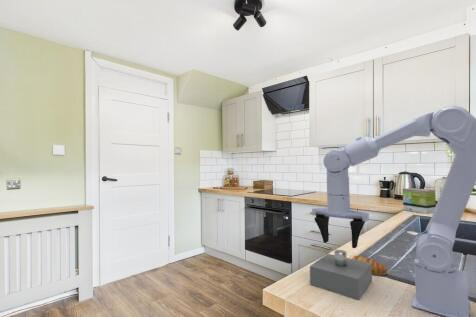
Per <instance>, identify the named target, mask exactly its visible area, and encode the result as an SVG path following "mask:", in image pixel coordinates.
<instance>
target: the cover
mask: <svg viewBox="0 0 476 317" xmlns="http://www.w3.org/2000/svg"><path fill="white" fill-rule="evenodd" d="M372 276H373V275H372V268H371V263H368V262H363V261H359V260H354V259H353V258H349V257H348V258H347V251H345V250H342V249H335V250H334V254H331V253H326V254H325V255H324V256H322V257H320V258H319V259H318V260H316V261H315V262H314V263H312V264H310V266H309V282H310V284H309V285H311V286H313V287H317V288H320V289H323V290H326V291H329V292H333V293H335V294H339V295H343V296H345V297H348V298H351V299H354V300H358V301H359V300H360V299H361V298H362V296H363V294H365V291H366V290H367V289H368V288H369V286H370V285H371V283H372V282H373V278H372Z"/></svg>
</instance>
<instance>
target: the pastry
mask: <svg viewBox="0 0 476 317" xmlns="http://www.w3.org/2000/svg"><path fill="white" fill-rule="evenodd" d="M352 259H354V260H359V261H363V262H368V263H371V268H372V276H375V277H376V276H378V277H380V276H381V277H382V276H386V275H387V272H388V268H387V267H386V266H384V265H383V264H381V263H380V262H378V261H375V260H373V259H370V258H369V257H364V256H358V255H354V256H353V257H352Z"/></svg>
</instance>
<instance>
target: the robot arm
mask: <svg viewBox="0 0 476 317" xmlns="http://www.w3.org/2000/svg"><path fill="white" fill-rule="evenodd" d="M431 133H432V135H433V136H435V137H436V138H437V139H439V140H441V141H443V142H444V143H446V146H447V147H448V148H449V149H450V150H451V151H452V152H453V154H454V158H453V161H452V163H451V165H450V169H449V171H448V174H447V176H446V178H445V181H444V185H443V186H442V189H441V192H440V195H439V198H438V199H437V202H436V207H435V210H434V212H433V213H432V215H431V219H430V220H429V222H428V224H427V226H426V228H425V230H424V231H423V232H421V233H420V234H419V235H417V238H416V242H415V243H416V244H415V245H416V249H415V253H416V254H415V255H416V258H415V259H414V282H415V283H414V284H415V294H414V295H413V299H412V303H411V306H412V307H413V308H415V309H420V310H422V311H426V312H430V313H432V314H436V315H440V316H443V317H470V311H469V310H472V309H471V299H469V285H468V273H467V272H466V271H462V270H459V269H457V268H456V267H455V264H454V260H455V259H454V253H453V248H454V244H455V242H456V234H457V230H458V227H459V225H460V222H461V219H462V217H463V215H464V212H465V209H466V207H467V205H468V202H469V200H470V198H471V195H472V193H473V190H474V188H475V186H476V117H475V116H474V115H473V114H472V113H471V112H469V111H468V110H467V109H466V108H464V107H461V106H458V105H449V106H448V105H447V106H445V107H442V108H440V109H439V110H437V111H436V112H435V111H431V112H428V113H425V114H423V115H419V116H418V117H416V118H415V117H414V118H413V119H411V120H409V121H407V122H405V123H403V124H401V125H399V126H397V127H394V128H393V129H390V130H388V131H387V132H385V133H383V134H380V135H378V136H376V137H374V138H372V137H369V136H363V137H362V136H359V137H356V138H355V141H354V142H351V143H348V144H347V145H345V146H344V145H341V146H339V147H338V149H339V150H338V149H331V150H330V151H329V152H327V153H326V154H325V155H324V157H323V165H324V168H326V195H327V196H326V201H327V202H326V203H327V207H326V208H325V207H312V209H311V213H312V214H311V215H312V216H315V217H314V222H315V224H316V225H317V227H318V229H319V231H320V234H321V238H322V242H323V243H324V244H327V243H328V242H329V225H330V224H329V222H330V218H337V219H338V218H339V219H347V220H350V221H349V225H350V231H351V248H352V249H356V248H357V247H358V243H359V239H360V238H359V237H360V235H361V232H362V229H363V228H364V225H365V223H366V222H368V221H370V220H369V218H370V217H369V214H370V212H365V211H357V210H351V199H350V197H351V195H350V177H349V169H350V167H354V166H358V165H360V164H362V163H364V162H367V161H370V160H371V159H372V160H373V159H375V158H376V157H378V155H379V152H380V151H381V150H382V149H384V148H388V147H390V146H393V145H395V144H398V143H400V142H404V141H405V140H408V139H410V138H413V137H428V138H429V137H430V136H431Z"/></svg>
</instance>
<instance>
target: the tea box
mask: <svg viewBox="0 0 476 317" xmlns="http://www.w3.org/2000/svg"><path fill="white" fill-rule="evenodd" d="M436 200H437V199H436V189H427V188H415V187H409V188H408V187H407V188H402V208H403V211H408V212H414V213H419V214H424V215H429V214H430V215H431V214H433V212H434V210H435V207H436V205H437V202H436Z"/></svg>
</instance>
